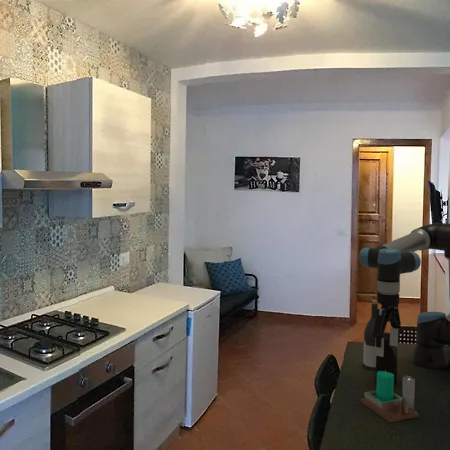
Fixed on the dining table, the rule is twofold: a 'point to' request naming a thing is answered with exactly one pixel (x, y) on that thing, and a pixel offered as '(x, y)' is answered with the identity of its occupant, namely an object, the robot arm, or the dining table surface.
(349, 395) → the dining table surface
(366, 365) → the wine bottle
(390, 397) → the candle
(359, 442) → the dining table surface
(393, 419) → the brown stand with post
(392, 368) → the container
